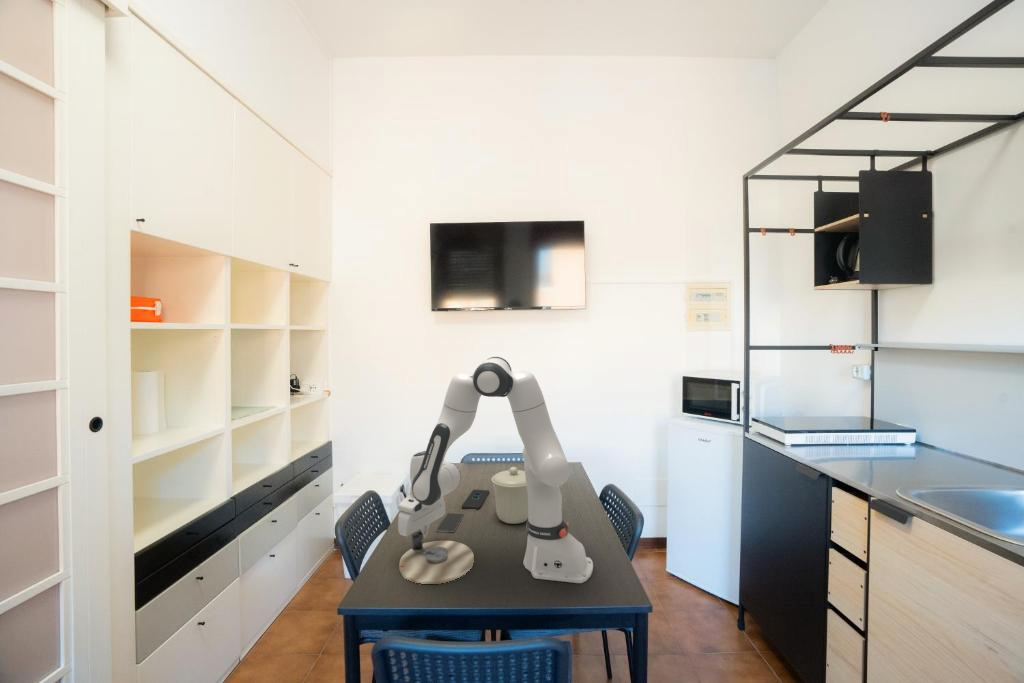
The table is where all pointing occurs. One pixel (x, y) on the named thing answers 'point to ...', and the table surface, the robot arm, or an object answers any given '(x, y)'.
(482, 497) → the smart home device
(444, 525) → the smartphone
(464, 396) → the robot arm
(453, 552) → the base
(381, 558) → the table surface
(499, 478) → the canister
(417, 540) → the crank handle
